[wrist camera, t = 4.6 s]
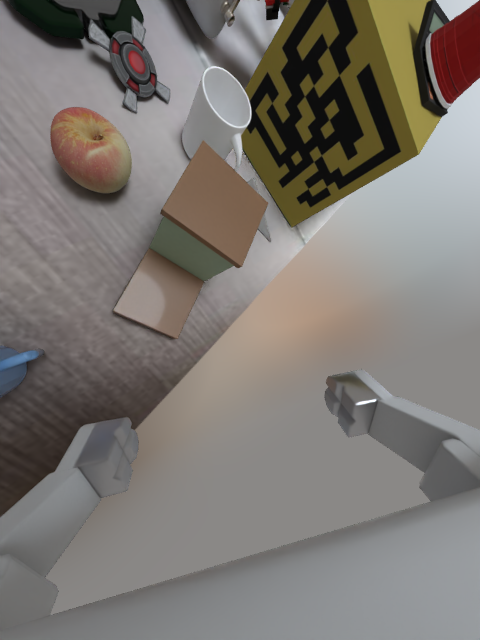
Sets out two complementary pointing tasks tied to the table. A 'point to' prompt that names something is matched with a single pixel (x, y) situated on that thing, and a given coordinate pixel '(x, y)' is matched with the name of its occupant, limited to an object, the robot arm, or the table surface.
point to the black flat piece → (79, 15)
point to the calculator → (429, 24)
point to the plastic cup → (455, 55)
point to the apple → (90, 150)
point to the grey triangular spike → (263, 224)
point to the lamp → (214, 14)
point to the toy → (131, 62)
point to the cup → (14, 367)
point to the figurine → (275, 8)
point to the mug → (217, 115)
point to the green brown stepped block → (192, 243)
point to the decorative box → (336, 101)
